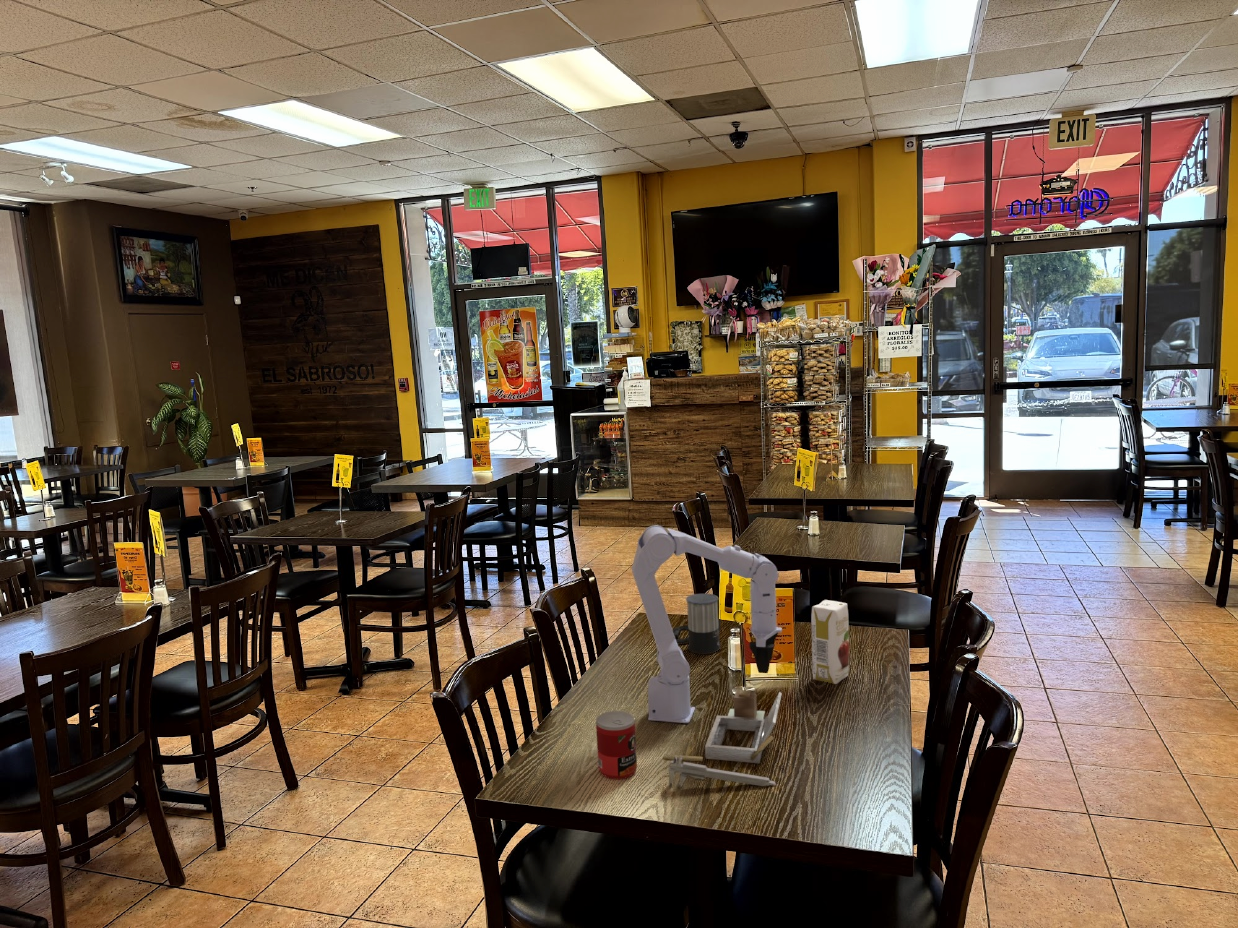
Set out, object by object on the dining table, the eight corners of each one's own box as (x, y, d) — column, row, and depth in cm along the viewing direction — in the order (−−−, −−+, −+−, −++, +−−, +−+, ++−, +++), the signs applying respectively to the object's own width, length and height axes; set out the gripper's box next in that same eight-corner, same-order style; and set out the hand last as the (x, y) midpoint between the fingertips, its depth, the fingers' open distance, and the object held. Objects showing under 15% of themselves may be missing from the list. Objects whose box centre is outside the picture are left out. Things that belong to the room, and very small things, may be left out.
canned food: (624, 783, 163) (622, 730, 161) (590, 774, 167) (587, 722, 165) (644, 766, 169) (642, 714, 168) (611, 757, 173) (608, 707, 172)
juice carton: (809, 679, 208) (807, 606, 206) (825, 669, 215) (823, 597, 212) (837, 686, 203) (835, 611, 201) (852, 675, 210) (851, 602, 207)
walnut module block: (734, 720, 187) (733, 695, 186) (737, 712, 191) (736, 687, 190) (754, 722, 185) (753, 697, 185) (756, 713, 190) (756, 689, 189)
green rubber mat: (724, 724, 186) (724, 723, 186) (730, 709, 193) (730, 708, 193) (760, 727, 183) (760, 726, 183) (764, 712, 191) (764, 711, 191)
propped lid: (749, 760, 167) (748, 722, 166) (758, 725, 182) (757, 690, 181) (775, 763, 166) (774, 724, 165) (782, 727, 181) (781, 691, 180)
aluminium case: (705, 758, 171) (705, 746, 170) (717, 726, 185) (717, 715, 185) (759, 763, 168) (759, 750, 167) (767, 730, 182) (767, 718, 182)
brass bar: (663, 760, 172) (663, 756, 172) (664, 758, 173) (664, 754, 172) (702, 762, 170) (702, 758, 170) (702, 760, 171) (702, 756, 171)
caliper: (669, 788, 160) (667, 757, 159) (669, 785, 161) (667, 755, 161) (776, 787, 159) (775, 755, 158) (775, 784, 160) (774, 753, 159)
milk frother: (718, 655, 228) (716, 603, 226) (662, 653, 232) (659, 601, 230) (724, 637, 242) (722, 588, 240) (671, 636, 246) (668, 587, 244)
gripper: (778, 620, 183) (779, 679, 185) (783, 600, 197) (785, 655, 198) (746, 618, 185) (747, 677, 187) (753, 599, 199) (755, 654, 200)
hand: (765, 666), depth 193 cm, fingers open, 7 cm apart
